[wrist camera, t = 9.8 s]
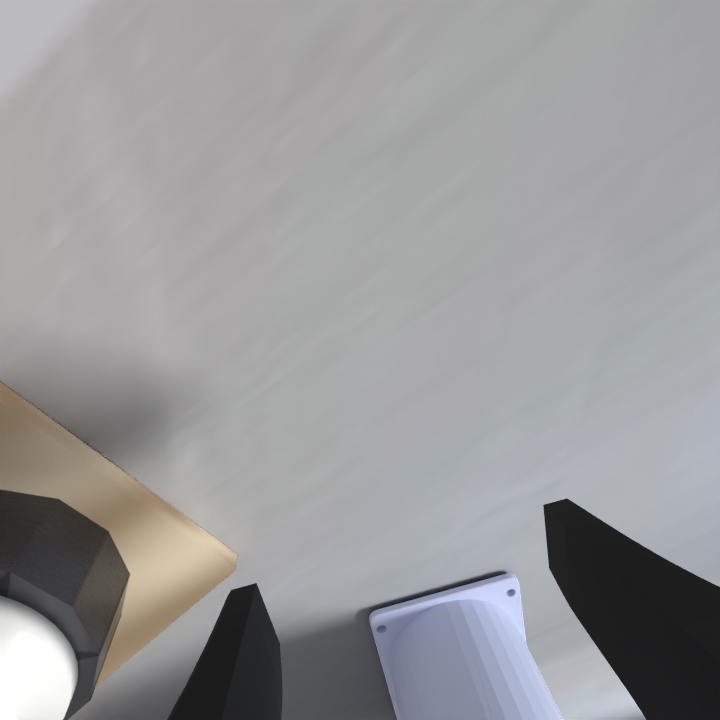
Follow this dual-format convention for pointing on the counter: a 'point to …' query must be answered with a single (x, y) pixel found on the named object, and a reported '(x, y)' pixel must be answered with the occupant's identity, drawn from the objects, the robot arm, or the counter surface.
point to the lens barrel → (64, 577)
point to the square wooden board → (114, 523)
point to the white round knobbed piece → (33, 665)
